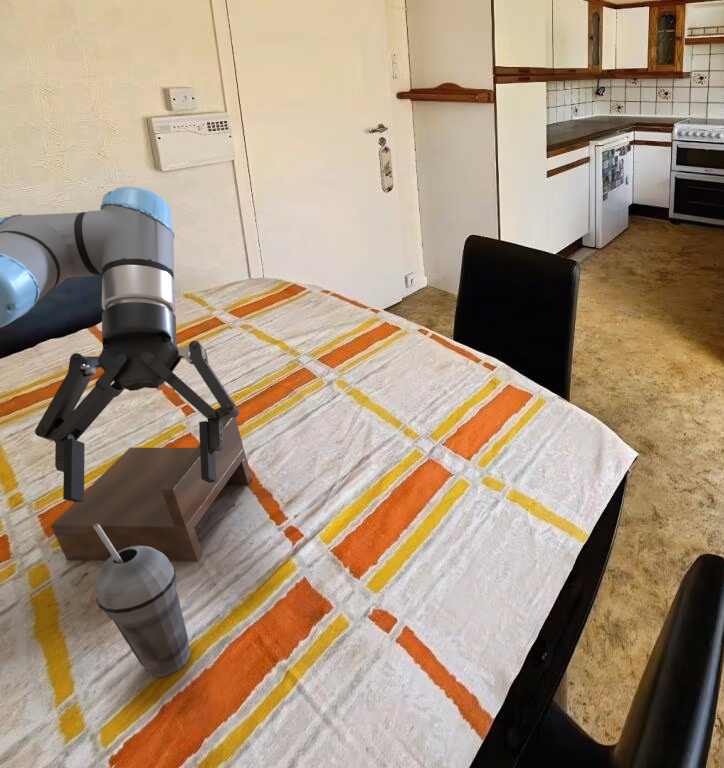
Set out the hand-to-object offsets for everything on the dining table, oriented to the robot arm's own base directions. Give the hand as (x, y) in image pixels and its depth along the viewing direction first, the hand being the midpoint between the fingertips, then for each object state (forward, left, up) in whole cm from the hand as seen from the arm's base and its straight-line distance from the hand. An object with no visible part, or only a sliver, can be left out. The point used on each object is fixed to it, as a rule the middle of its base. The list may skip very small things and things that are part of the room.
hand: (142, 490), depth 68 cm
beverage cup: (+2, -8, -18) cm, 19 cm away
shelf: (-11, +16, -18) cm, 26 cm away
